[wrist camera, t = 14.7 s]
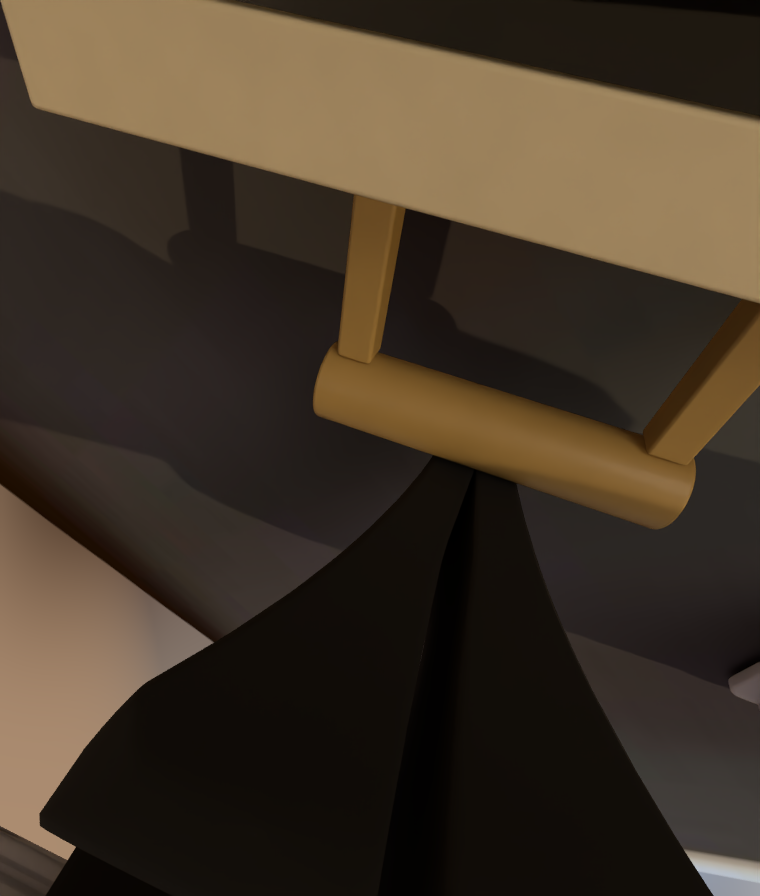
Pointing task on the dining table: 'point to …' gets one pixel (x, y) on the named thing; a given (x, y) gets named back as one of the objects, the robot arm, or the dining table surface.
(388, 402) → the drawer
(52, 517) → the dining table surface
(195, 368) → the dining table surface
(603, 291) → the dining table surface
